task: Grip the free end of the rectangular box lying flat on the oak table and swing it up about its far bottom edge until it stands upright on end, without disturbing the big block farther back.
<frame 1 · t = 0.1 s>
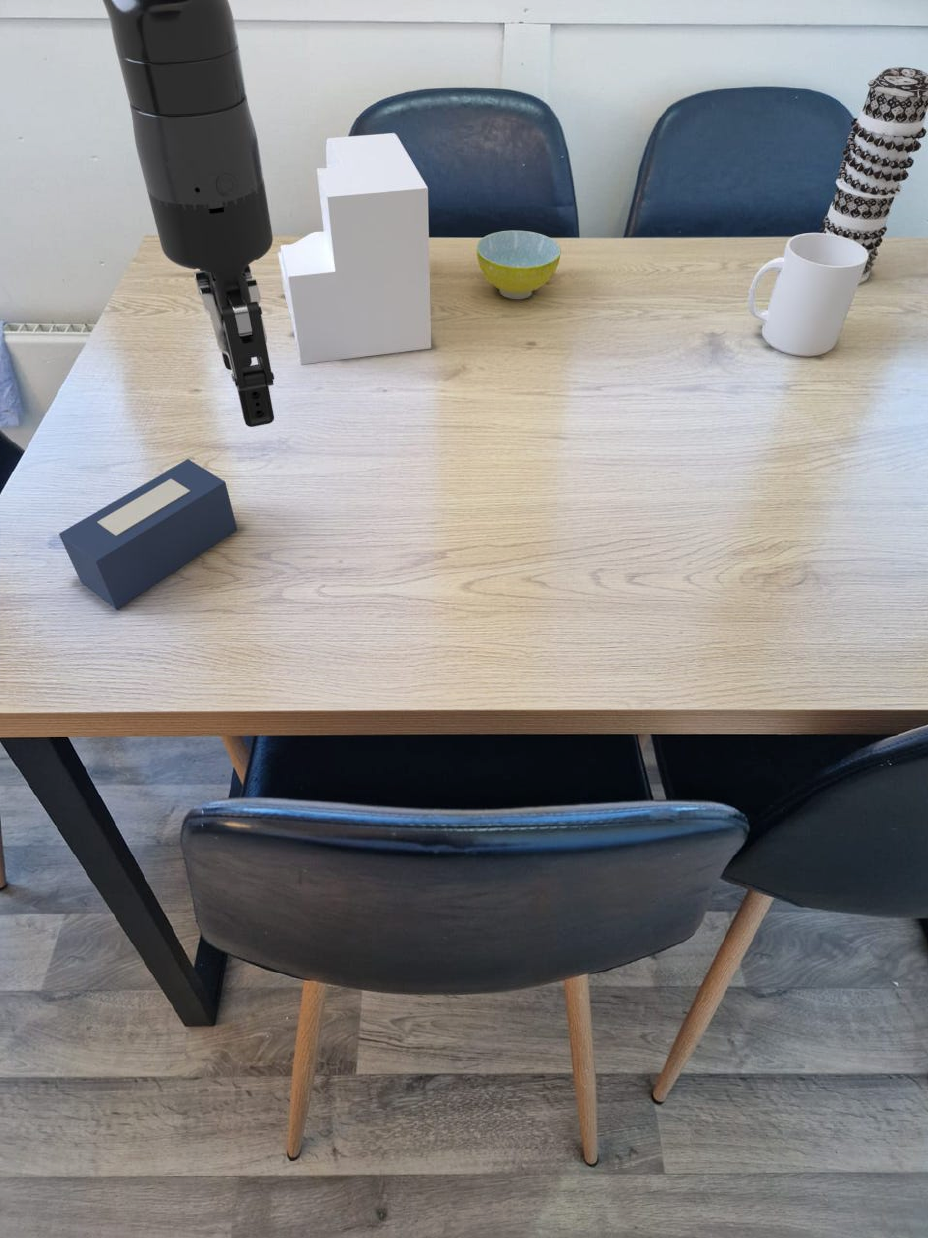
hand: (249, 393, 66), 18 cm above the table, tool pointing down, fingers open, 8 cm apart
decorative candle: (838, 272, 122), on the table
rectangular box: (153, 531, 77), point 3 cm above the table, hinge at 0.0°
block: (351, 310, 112), on the table
bowl: (516, 293, 116), on the table
mug: (787, 341, 108), on the table
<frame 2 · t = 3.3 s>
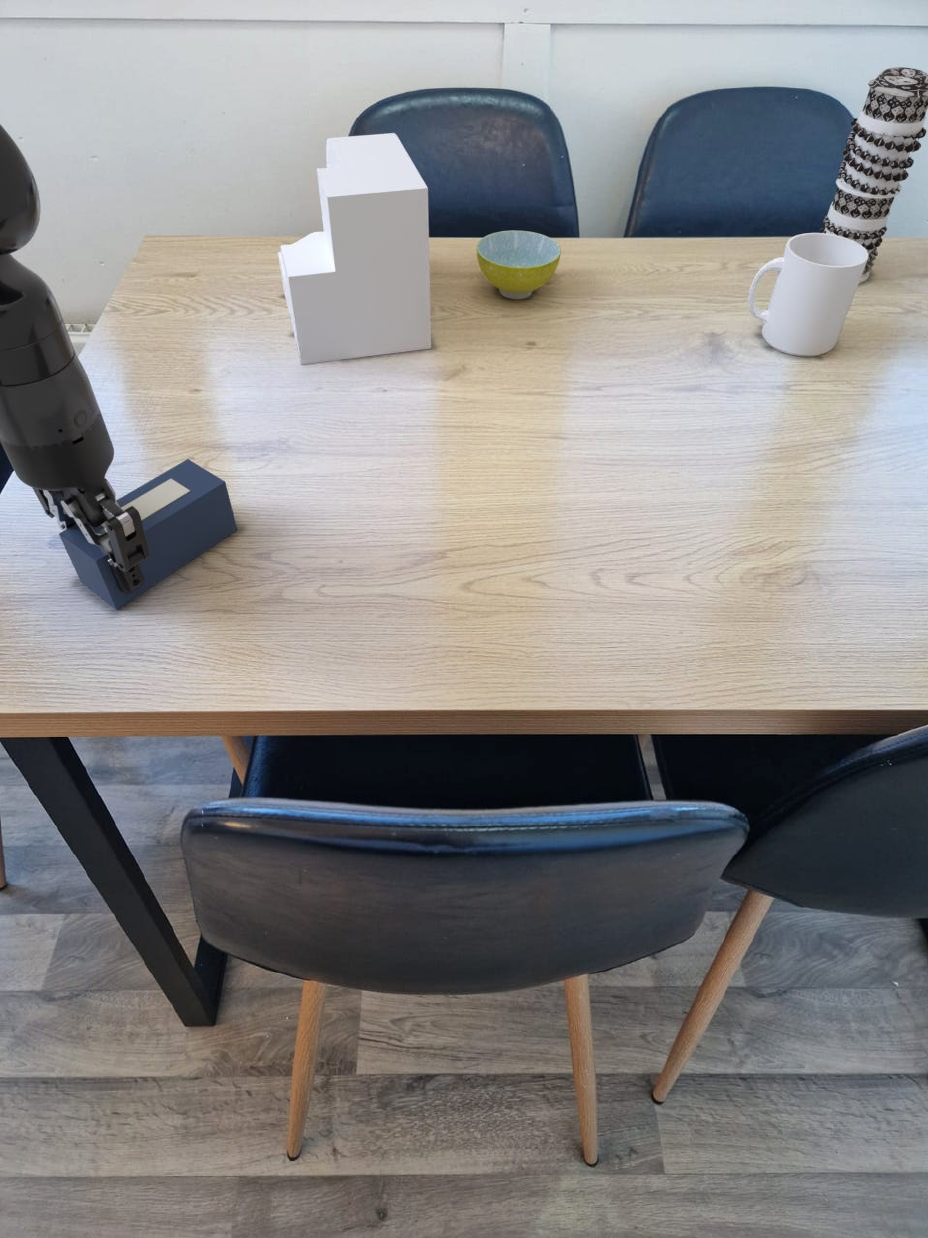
hand: (112, 572, 76), 2 cm above the table, tool pointing down, fingers closed on rectangular box, 5 cm apart
rectangular box: (153, 531, 77), point 3 cm above the table, hinge at 0.0°, touching gripper
everything else where it was.
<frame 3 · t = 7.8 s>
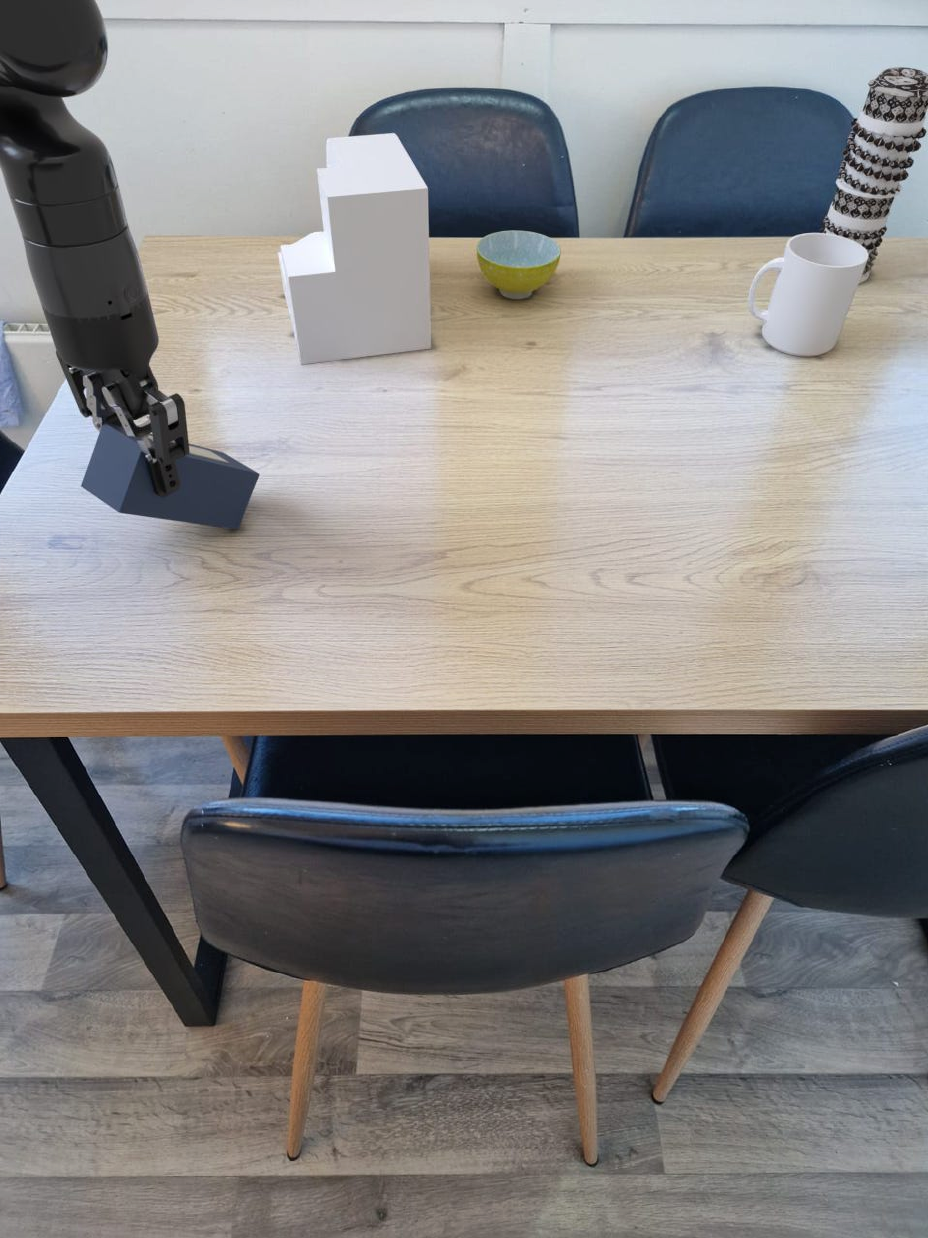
hand: (146, 477, 73), 9 cm above the table, tool pointing down, fingers closed on rectangular box, 5 cm apart
rectangular box: (175, 479, 76), point 7 cm above the table, hinge at 40.7°, touching gripper
everything else where it was.
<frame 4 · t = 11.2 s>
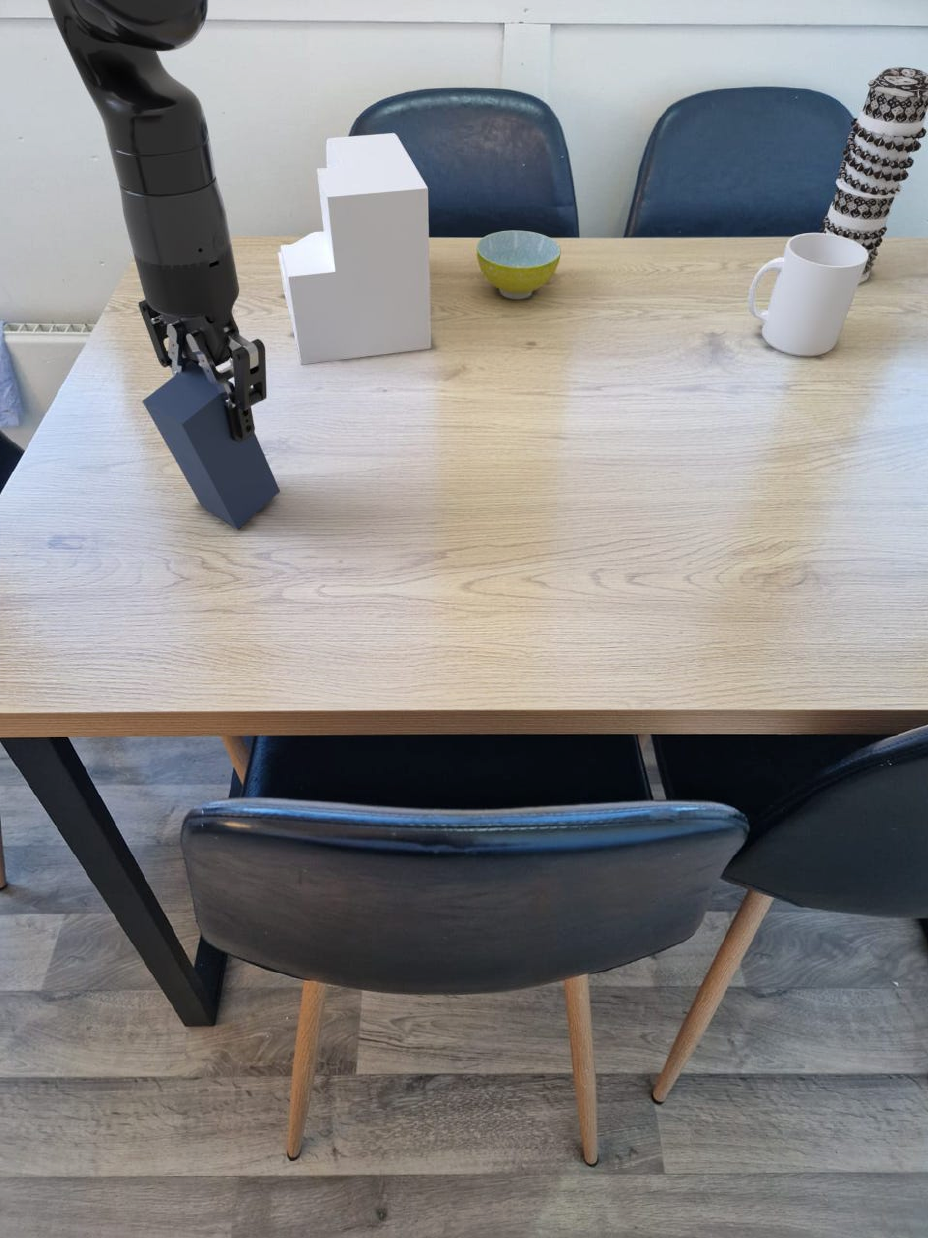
hand: (221, 424, 77), 10 cm above the table, tool pointing down, fingers closed on rectangular box, 5 cm apart
rectangular box: (216, 449, 78), point 7 cm above the table, hinge at 78.7°, touching gripper
everything else where it was.
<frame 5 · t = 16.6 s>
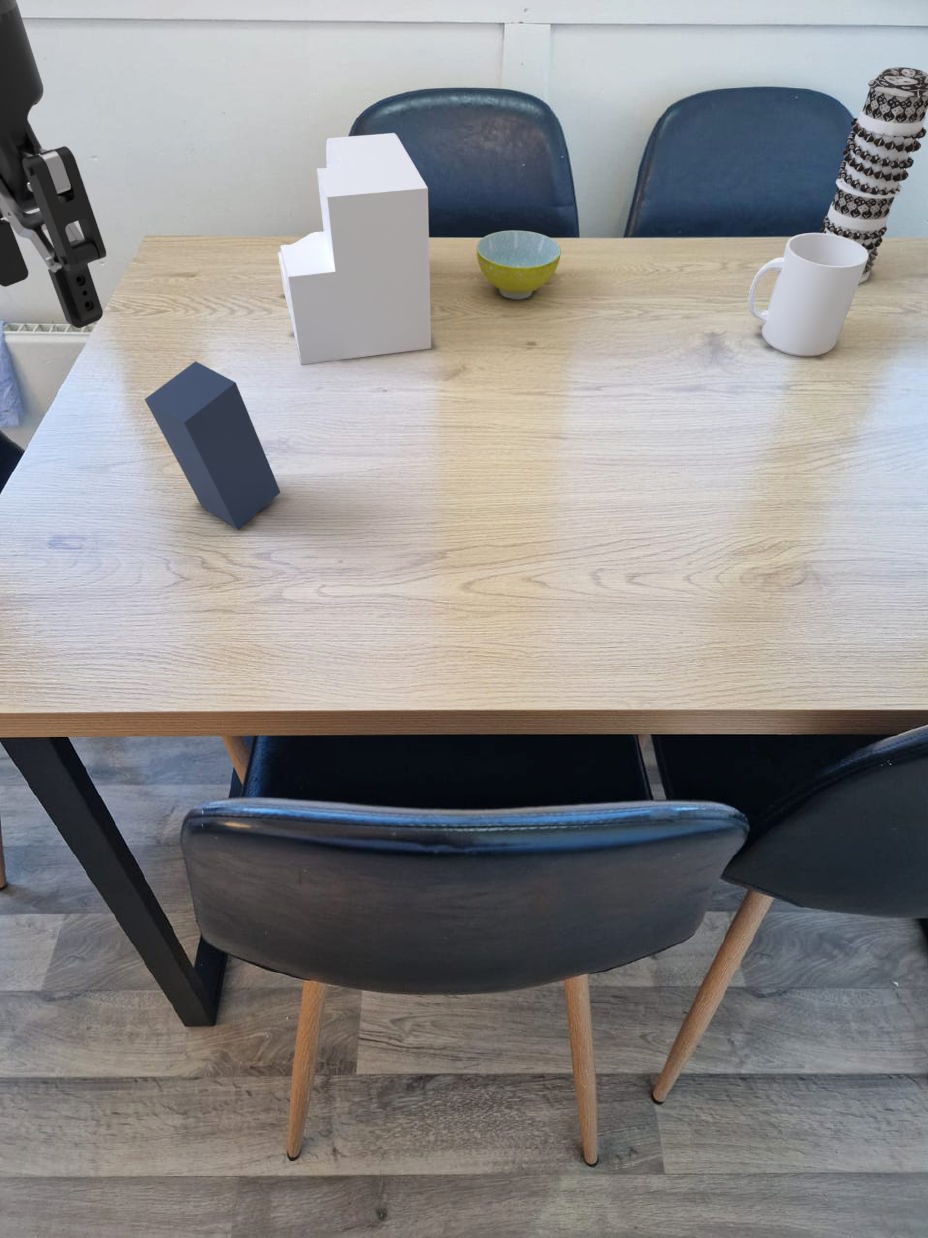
hand: (49, 301, 55), 28 cm above the table, tool pointing down, fingers open, 8 cm apart
rectangular box: (217, 448, 78), point 7 cm above the table, hinge at 79.8°
everything else where it was.
at the end: rectangular box at +80° (first picture: +0°); block moved 0.2 cm from its start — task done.
